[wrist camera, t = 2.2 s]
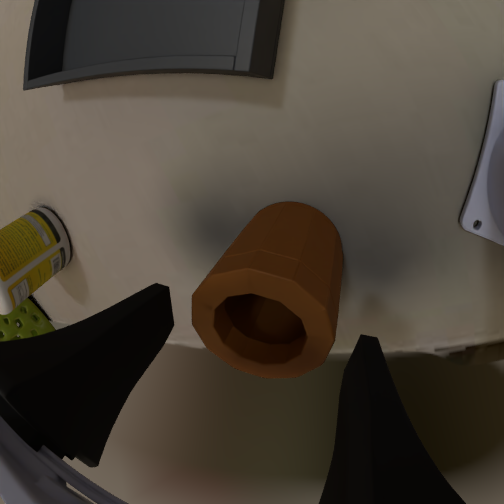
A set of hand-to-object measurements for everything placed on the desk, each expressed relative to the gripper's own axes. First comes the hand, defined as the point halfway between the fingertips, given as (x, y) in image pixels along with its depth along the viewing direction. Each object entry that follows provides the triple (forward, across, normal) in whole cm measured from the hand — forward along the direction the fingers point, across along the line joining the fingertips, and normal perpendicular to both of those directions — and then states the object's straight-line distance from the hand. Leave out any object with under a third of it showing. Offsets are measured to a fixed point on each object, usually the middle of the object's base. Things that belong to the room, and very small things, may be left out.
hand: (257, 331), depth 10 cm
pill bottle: (+7, +21, +4) cm, 23 cm away
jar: (+6, 0, 0) cm, 6 cm away
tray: (+6, +9, -15) cm, 18 cm away
